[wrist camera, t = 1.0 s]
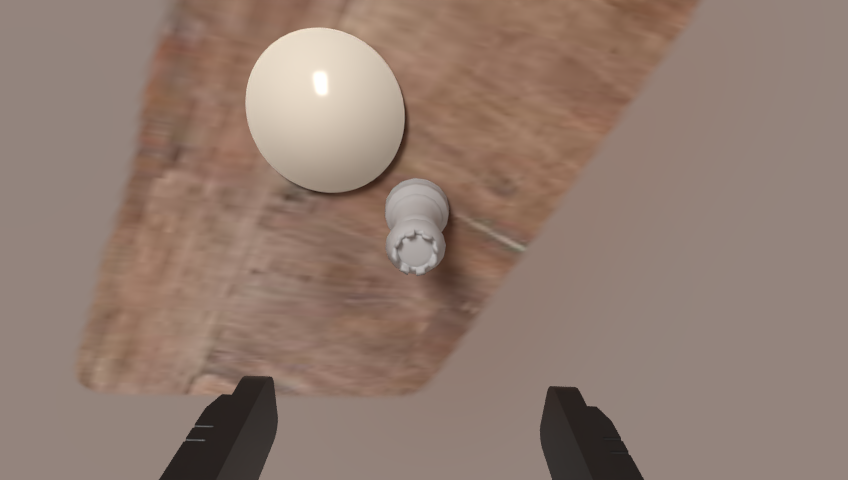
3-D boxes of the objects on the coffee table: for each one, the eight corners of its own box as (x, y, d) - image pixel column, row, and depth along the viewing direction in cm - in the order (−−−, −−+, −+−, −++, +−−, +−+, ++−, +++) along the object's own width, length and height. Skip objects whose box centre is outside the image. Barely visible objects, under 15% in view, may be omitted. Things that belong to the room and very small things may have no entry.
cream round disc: (239, 24, 24) (235, 23, 24) (406, 32, 25) (406, 31, 24) (258, 187, 28) (255, 189, 28) (403, 193, 28) (402, 195, 28)
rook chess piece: (461, 205, 29) (476, 251, 21) (419, 249, 30) (418, 306, 22) (414, 163, 27) (412, 195, 20) (372, 209, 29) (354, 257, 21)
